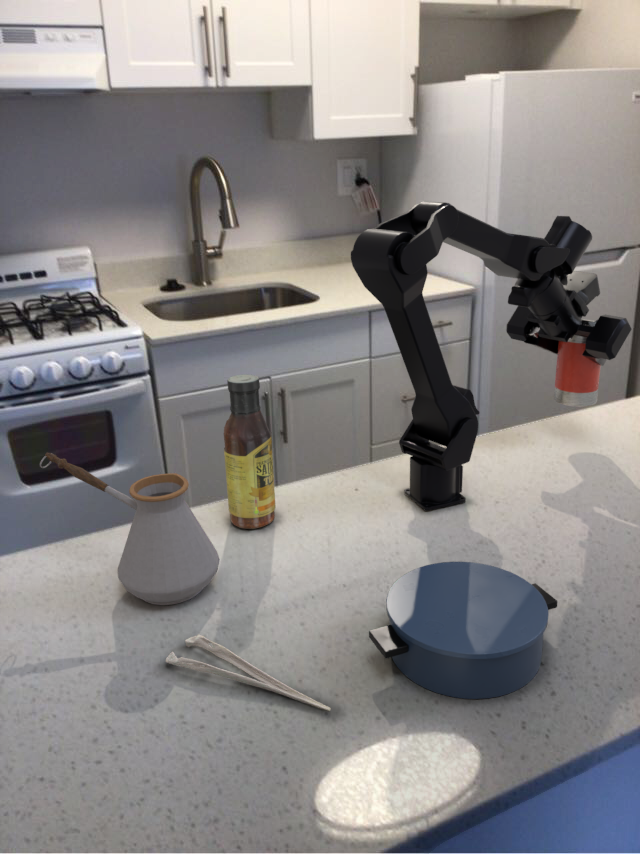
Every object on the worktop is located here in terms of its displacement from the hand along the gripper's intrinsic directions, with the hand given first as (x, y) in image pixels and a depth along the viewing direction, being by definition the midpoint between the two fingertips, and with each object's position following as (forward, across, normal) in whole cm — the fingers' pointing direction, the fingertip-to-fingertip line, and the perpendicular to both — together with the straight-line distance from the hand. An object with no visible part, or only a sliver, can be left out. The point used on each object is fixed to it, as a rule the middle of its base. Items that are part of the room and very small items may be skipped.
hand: (584, 358), depth 120 cm
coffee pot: (-43, +9, +63) cm, 77 cm away
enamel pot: (-30, -25, +49) cm, 62 cm away
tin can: (+4, 0, +6) cm, 7 cm away
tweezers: (-43, -15, +63) cm, 77 cm away
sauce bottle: (-30, +12, +50) cm, 59 cm away
